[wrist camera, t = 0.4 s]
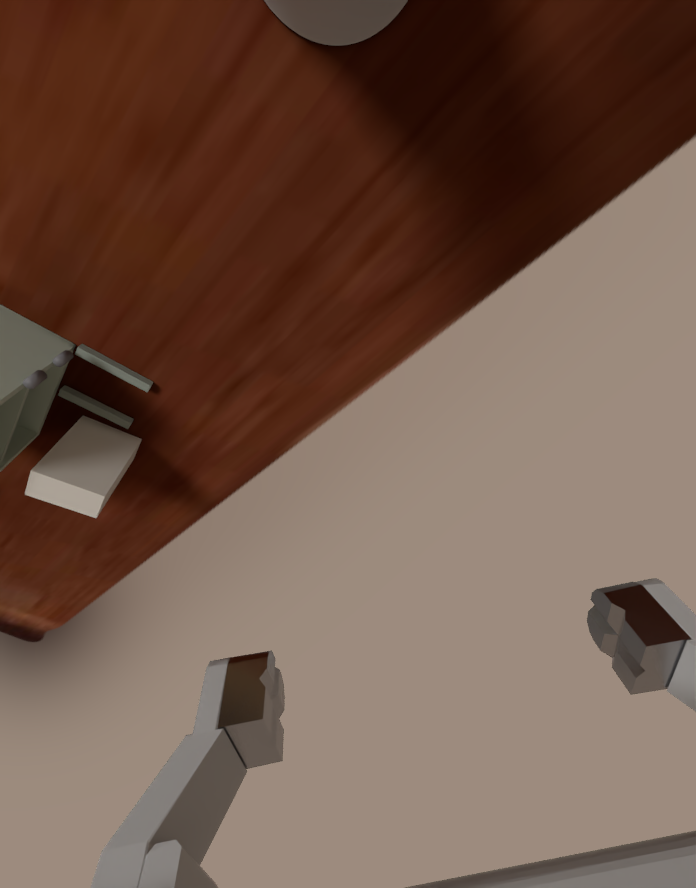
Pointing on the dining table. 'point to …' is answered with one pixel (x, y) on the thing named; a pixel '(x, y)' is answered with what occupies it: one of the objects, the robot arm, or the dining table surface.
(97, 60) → the dining table surface
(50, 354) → the cabinet
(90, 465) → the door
